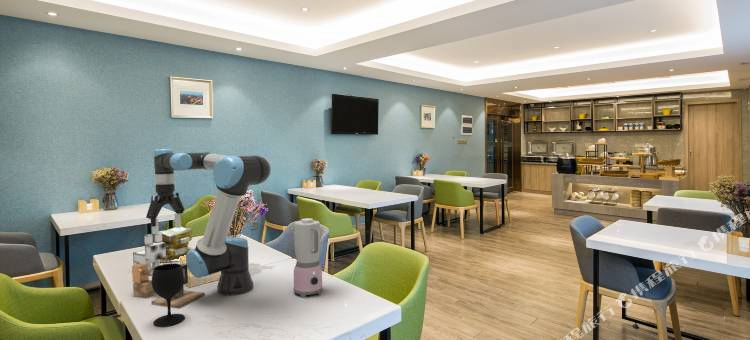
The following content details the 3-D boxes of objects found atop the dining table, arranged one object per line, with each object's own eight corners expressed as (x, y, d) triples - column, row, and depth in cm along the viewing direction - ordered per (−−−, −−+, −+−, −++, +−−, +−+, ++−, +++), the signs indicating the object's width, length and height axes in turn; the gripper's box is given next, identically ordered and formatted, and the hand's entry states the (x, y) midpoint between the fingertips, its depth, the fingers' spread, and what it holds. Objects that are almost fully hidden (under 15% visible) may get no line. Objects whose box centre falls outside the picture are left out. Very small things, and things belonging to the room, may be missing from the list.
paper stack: (205, 256, 231) (204, 227, 230) (159, 265, 212) (158, 235, 211) (186, 249, 247) (185, 222, 246) (142, 257, 228) (141, 228, 227)
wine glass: (177, 312, 152) (175, 261, 151) (190, 319, 145) (188, 266, 144) (148, 321, 144) (146, 267, 143) (160, 329, 137) (158, 273, 136)
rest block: (156, 293, 171) (155, 280, 171) (146, 298, 166) (145, 284, 166) (143, 292, 173) (143, 279, 173) (133, 296, 168) (132, 283, 168)
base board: (204, 295, 169) (204, 292, 169) (179, 308, 156) (179, 305, 156) (178, 292, 173) (178, 289, 173) (151, 304, 160) (151, 301, 160)
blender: (289, 290, 174) (288, 218, 172) (314, 285, 181) (313, 215, 179) (303, 302, 161) (302, 224, 159) (330, 296, 168) (329, 221, 166)
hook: (177, 283, 167) (176, 266, 166) (169, 286, 163) (168, 270, 162) (141, 278, 173) (140, 263, 172) (132, 282, 168) (132, 266, 168)
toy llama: (145, 267, 210) (143, 229, 208) (166, 271, 202) (165, 233, 200) (130, 271, 203) (129, 232, 202) (152, 276, 195) (150, 236, 194)
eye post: (188, 294, 168) (187, 264, 167) (173, 301, 160) (172, 269, 159) (183, 293, 169) (182, 263, 168) (168, 300, 161) (167, 269, 160)
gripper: (178, 181, 190) (180, 225, 191) (134, 186, 166) (137, 236, 167) (191, 181, 188) (193, 225, 189) (149, 186, 164) (152, 236, 165)
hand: (167, 230), depth 178 cm, fingers open, 13 cm apart
